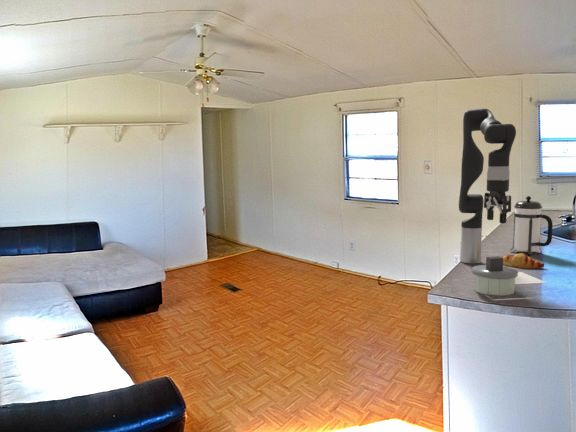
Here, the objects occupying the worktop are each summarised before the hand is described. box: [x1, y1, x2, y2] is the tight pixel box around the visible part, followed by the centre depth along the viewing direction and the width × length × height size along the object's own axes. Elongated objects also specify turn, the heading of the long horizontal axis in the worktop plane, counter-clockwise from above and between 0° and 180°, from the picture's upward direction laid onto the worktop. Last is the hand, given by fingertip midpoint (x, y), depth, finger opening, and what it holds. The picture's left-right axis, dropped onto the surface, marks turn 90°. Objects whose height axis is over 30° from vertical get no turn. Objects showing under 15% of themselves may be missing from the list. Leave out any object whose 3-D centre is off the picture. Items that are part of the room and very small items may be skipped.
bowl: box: [473, 274, 516, 296], centre depth 166 cm, size 14×14×7 cm
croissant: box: [500, 252, 545, 270], centre depth 201 cm, size 21×10×8 cm
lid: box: [471, 256, 518, 279], centre depth 166 cm, size 16×16×6 cm
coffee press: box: [510, 195, 553, 257], centre depth 225 cm, size 17×16×30 cm
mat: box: [515, 271, 547, 285], centre depth 181 cm, size 16×16×1 cm
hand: (496, 221), depth 163 cm, fingers open, 8 cm apart
